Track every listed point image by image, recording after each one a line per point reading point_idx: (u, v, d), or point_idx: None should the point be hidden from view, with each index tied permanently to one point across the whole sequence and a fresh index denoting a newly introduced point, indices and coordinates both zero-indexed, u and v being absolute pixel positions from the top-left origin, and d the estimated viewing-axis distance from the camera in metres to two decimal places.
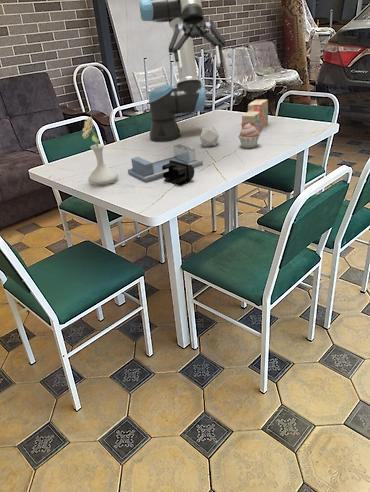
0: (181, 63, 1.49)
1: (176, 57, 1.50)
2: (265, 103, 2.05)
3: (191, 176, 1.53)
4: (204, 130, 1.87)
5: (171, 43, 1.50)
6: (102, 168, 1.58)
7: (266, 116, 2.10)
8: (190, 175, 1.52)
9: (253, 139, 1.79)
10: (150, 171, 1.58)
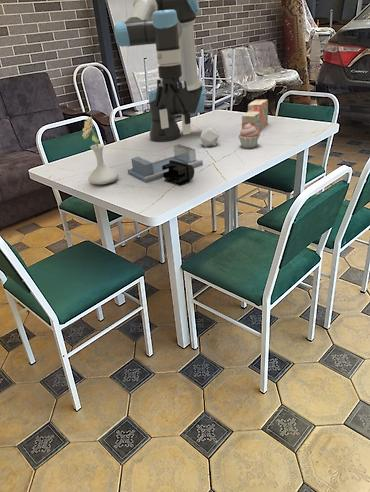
0: (162, 124, 1.51)
1: None
2: (265, 103, 2.05)
3: (191, 176, 1.53)
4: (204, 130, 1.87)
5: (156, 101, 1.49)
6: (102, 168, 1.58)
7: (266, 116, 2.10)
8: (190, 175, 1.52)
9: (253, 139, 1.79)
10: (150, 171, 1.58)
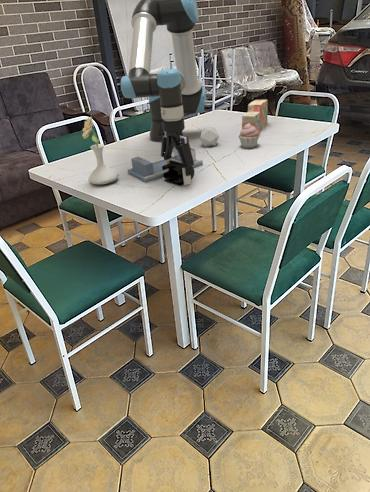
0: None
1: None
2: (265, 103, 2.05)
3: (191, 176, 1.52)
4: (204, 130, 1.87)
5: (161, 151, 1.57)
6: (102, 168, 1.58)
7: (266, 116, 2.09)
8: None
9: (253, 139, 1.79)
10: (150, 171, 1.58)
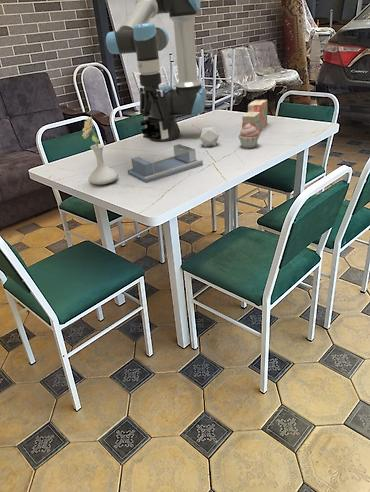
0: None
1: None
2: (265, 103, 2.05)
3: (168, 131, 1.57)
4: (204, 130, 1.87)
5: (140, 108, 1.61)
6: (102, 168, 1.58)
7: (266, 116, 2.09)
8: None
9: (253, 139, 1.79)
10: (150, 171, 1.58)
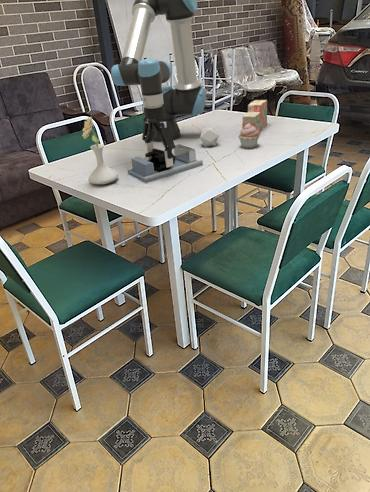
0: None
1: (147, 148, 1.69)
2: (264, 103, 2.04)
3: None
4: (204, 130, 1.87)
5: (143, 135, 1.67)
6: (102, 168, 1.58)
7: (265, 116, 2.09)
8: None
9: (253, 139, 1.79)
10: (150, 171, 1.58)
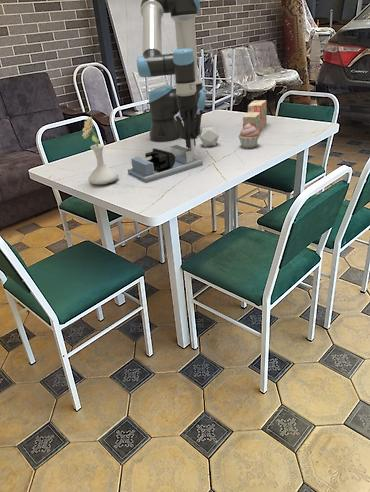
0: (193, 152, 1.70)
1: (189, 145, 1.69)
2: (264, 104, 2.04)
3: (172, 163, 1.63)
4: (204, 130, 1.87)
5: (184, 134, 1.65)
6: (102, 168, 1.58)
7: (265, 117, 2.09)
8: (171, 162, 1.62)
9: (253, 139, 1.79)
10: (150, 171, 1.58)
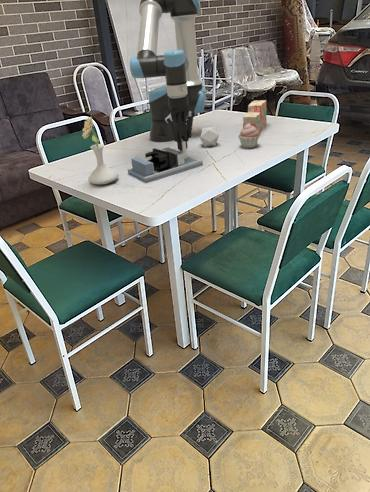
0: (185, 154, 1.69)
1: (180, 148, 1.67)
2: (264, 104, 2.04)
3: (172, 163, 1.63)
4: (204, 130, 1.87)
5: (175, 136, 1.63)
6: (102, 168, 1.58)
7: (265, 117, 2.09)
8: (171, 162, 1.62)
9: (253, 139, 1.79)
10: (150, 171, 1.58)
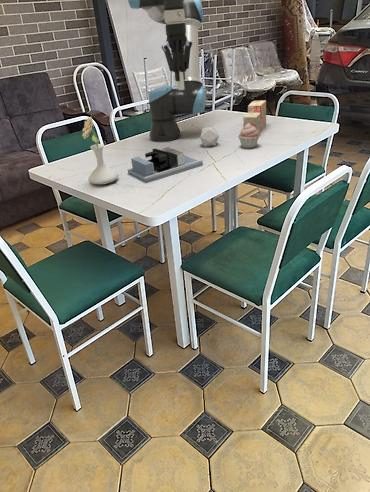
0: (182, 86, 1.68)
1: (178, 79, 1.67)
2: (264, 104, 2.04)
3: (172, 163, 1.63)
4: (204, 130, 1.87)
5: (172, 65, 1.63)
6: (102, 168, 1.58)
7: (265, 117, 2.08)
8: (171, 162, 1.62)
9: (253, 139, 1.79)
10: (150, 171, 1.58)
